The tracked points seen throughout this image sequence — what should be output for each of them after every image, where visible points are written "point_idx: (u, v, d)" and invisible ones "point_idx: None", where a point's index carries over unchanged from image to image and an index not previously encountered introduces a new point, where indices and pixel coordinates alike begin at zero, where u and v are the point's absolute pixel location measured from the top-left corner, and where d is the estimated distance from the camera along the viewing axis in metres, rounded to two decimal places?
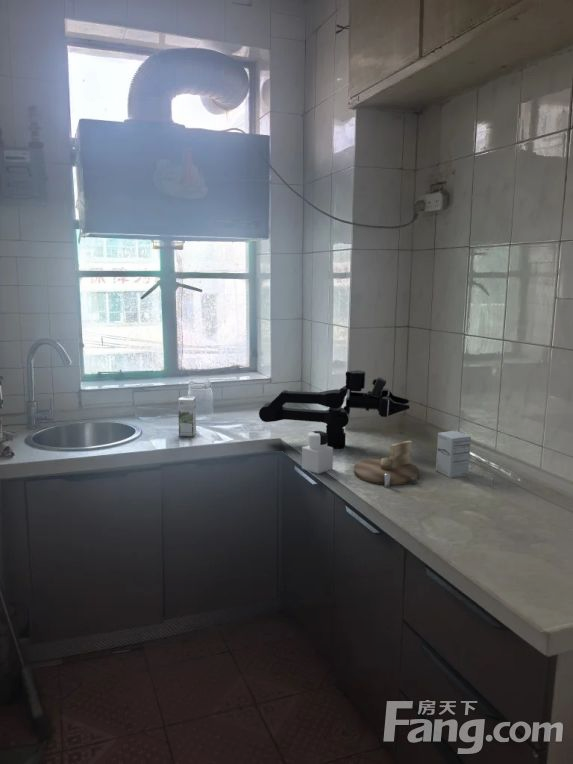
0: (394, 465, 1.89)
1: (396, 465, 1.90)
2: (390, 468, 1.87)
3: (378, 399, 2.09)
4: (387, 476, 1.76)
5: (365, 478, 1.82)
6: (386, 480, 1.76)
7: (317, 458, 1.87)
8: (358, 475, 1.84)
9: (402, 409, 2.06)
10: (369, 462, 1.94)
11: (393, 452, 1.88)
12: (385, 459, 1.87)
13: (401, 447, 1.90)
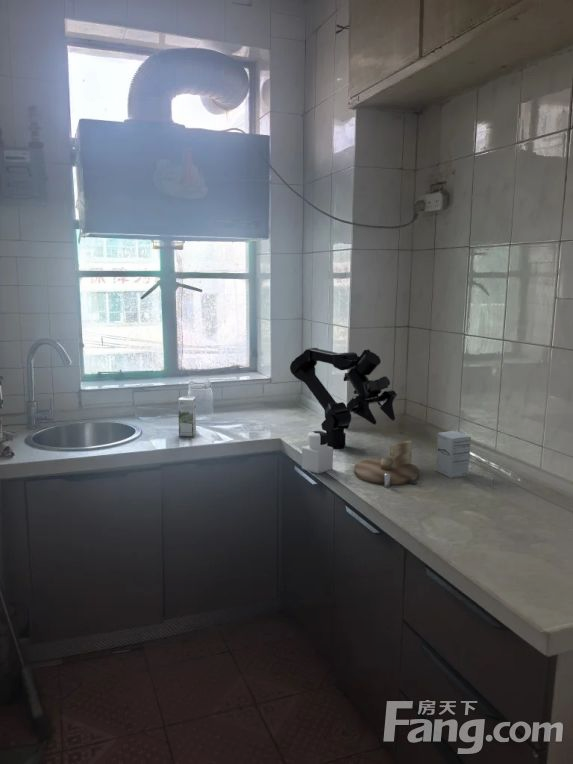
0: (394, 465, 1.89)
1: (396, 465, 1.90)
2: (390, 468, 1.87)
3: (365, 394, 1.99)
4: (387, 476, 1.76)
5: (365, 478, 1.82)
6: (386, 480, 1.76)
7: (317, 458, 1.87)
8: (358, 475, 1.84)
9: (368, 419, 1.95)
10: (369, 462, 1.94)
11: (393, 452, 1.88)
12: (385, 459, 1.87)
13: (401, 447, 1.90)
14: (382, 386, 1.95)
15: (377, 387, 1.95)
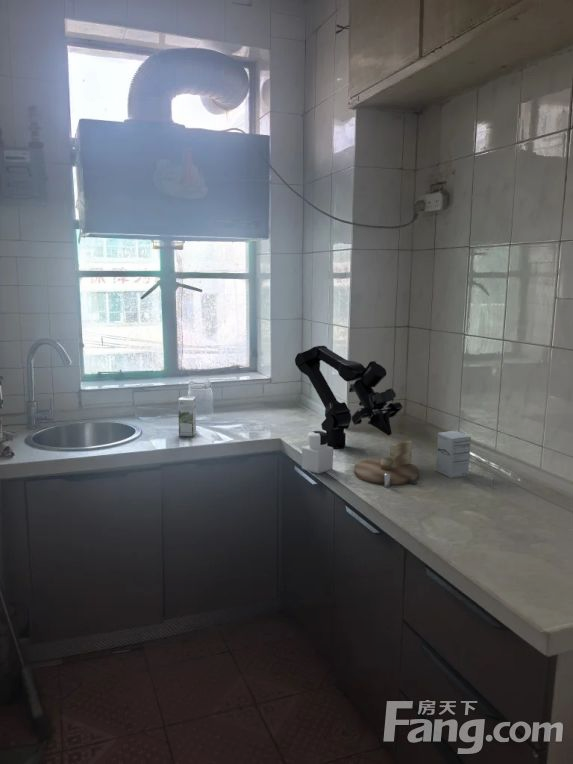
0: (394, 465, 1.89)
1: (396, 465, 1.90)
2: (390, 468, 1.87)
3: (371, 406, 1.97)
4: (387, 476, 1.76)
5: (365, 478, 1.82)
6: (386, 480, 1.76)
7: (317, 458, 1.87)
8: (358, 475, 1.84)
9: (383, 430, 1.96)
10: (369, 462, 1.94)
11: (393, 452, 1.88)
12: (385, 459, 1.87)
13: (401, 447, 1.90)
14: (388, 399, 1.93)
15: (382, 400, 1.93)
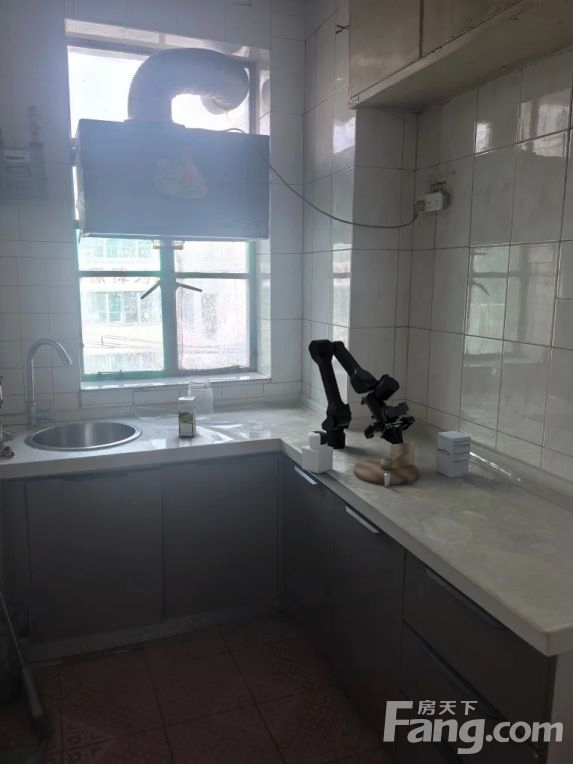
0: (395, 465, 1.89)
1: (397, 465, 1.89)
2: (389, 468, 1.86)
3: (383, 420, 1.93)
4: (387, 476, 1.76)
5: (362, 477, 1.83)
6: (386, 480, 1.76)
7: (317, 458, 1.87)
8: (356, 474, 1.86)
9: None
10: (371, 462, 1.94)
11: (393, 452, 1.88)
12: (385, 459, 1.87)
13: (403, 448, 1.89)
14: (401, 413, 1.89)
15: (396, 414, 1.89)
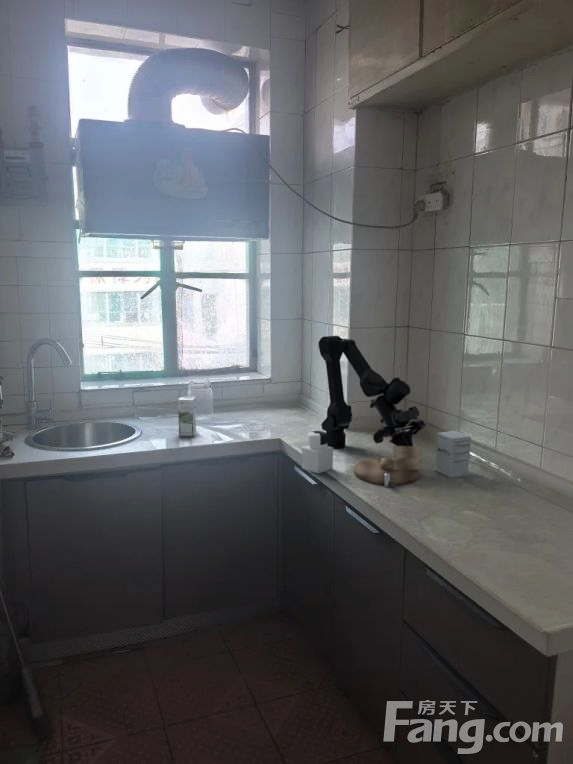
0: (396, 467, 1.87)
1: (399, 468, 1.87)
2: (386, 468, 1.86)
3: (393, 424, 1.90)
4: (387, 476, 1.76)
5: (354, 471, 1.88)
6: (386, 480, 1.76)
7: (317, 458, 1.87)
8: None
9: None
10: None
11: (394, 453, 1.87)
12: (385, 459, 1.88)
13: (406, 451, 1.86)
14: (411, 418, 1.86)
15: (406, 419, 1.86)
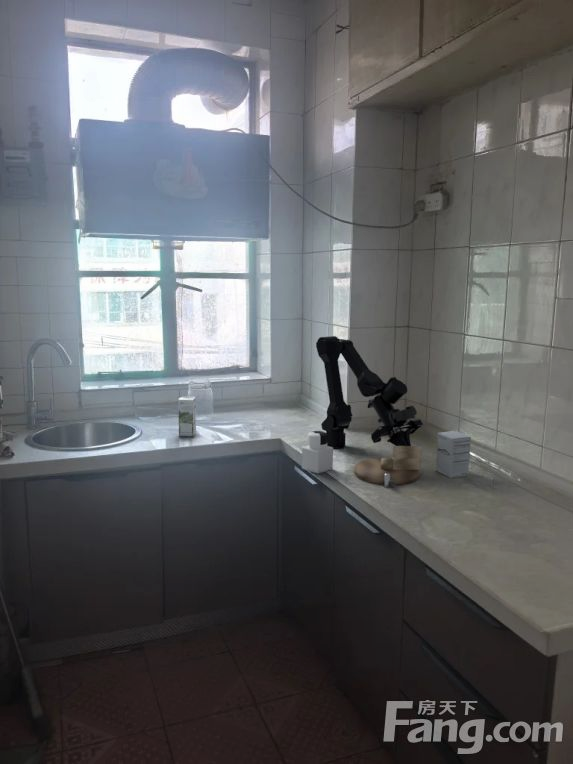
0: (396, 467, 1.87)
1: (399, 468, 1.87)
2: (386, 468, 1.86)
3: (391, 423, 1.91)
4: (387, 476, 1.76)
5: (354, 471, 1.88)
6: (386, 480, 1.76)
7: (317, 458, 1.87)
8: None
9: None
10: None
11: (394, 453, 1.87)
12: (385, 459, 1.88)
13: (406, 451, 1.86)
14: (409, 417, 1.87)
15: (403, 418, 1.87)
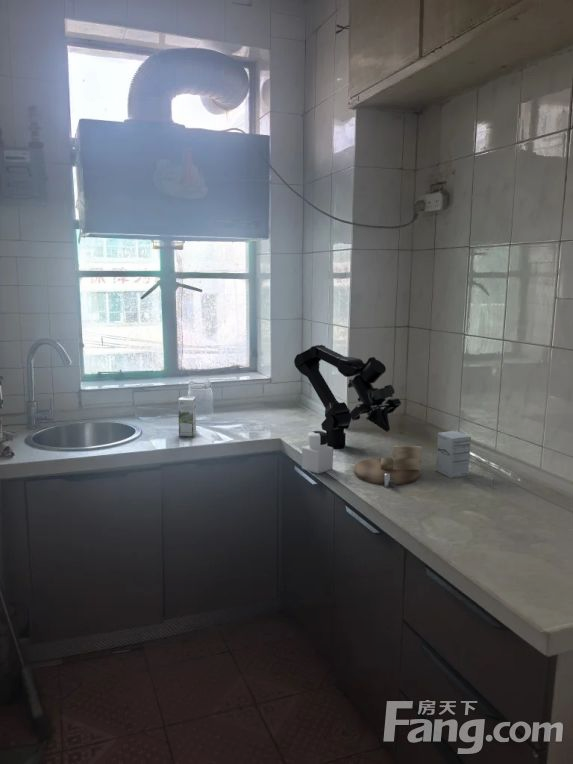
0: (396, 467, 1.87)
1: (399, 468, 1.87)
2: (386, 468, 1.86)
3: (369, 402, 1.98)
4: (387, 476, 1.76)
5: (354, 471, 1.88)
6: (386, 480, 1.76)
7: (317, 458, 1.87)
8: None
9: (381, 426, 1.97)
10: None
11: (394, 453, 1.87)
12: (385, 459, 1.88)
13: (406, 451, 1.86)
14: (386, 395, 1.94)
15: (381, 396, 1.93)
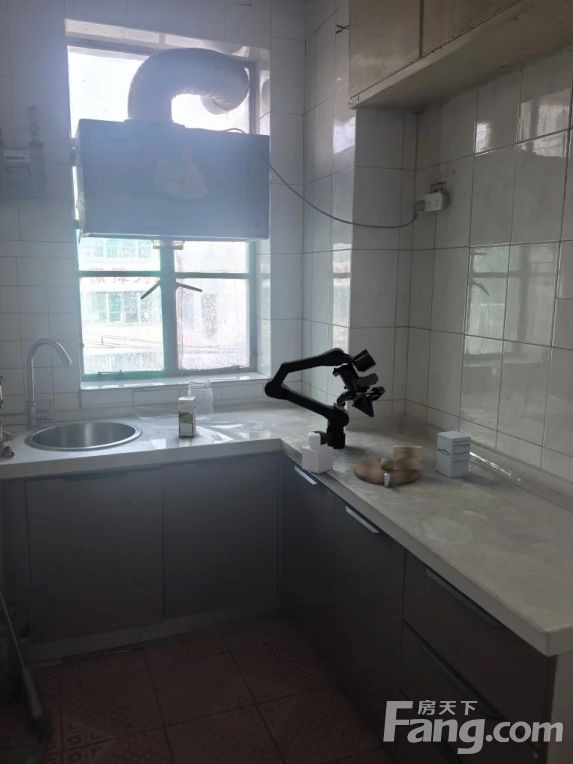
0: (396, 467, 1.87)
1: (399, 468, 1.87)
2: (386, 468, 1.86)
3: (355, 389, 2.07)
4: (387, 476, 1.76)
5: (354, 471, 1.88)
6: (386, 480, 1.76)
7: (317, 458, 1.87)
8: None
9: (366, 412, 2.06)
10: None
11: (394, 453, 1.87)
12: (385, 459, 1.88)
13: (406, 451, 1.86)
14: (370, 382, 2.03)
15: (366, 383, 2.02)
